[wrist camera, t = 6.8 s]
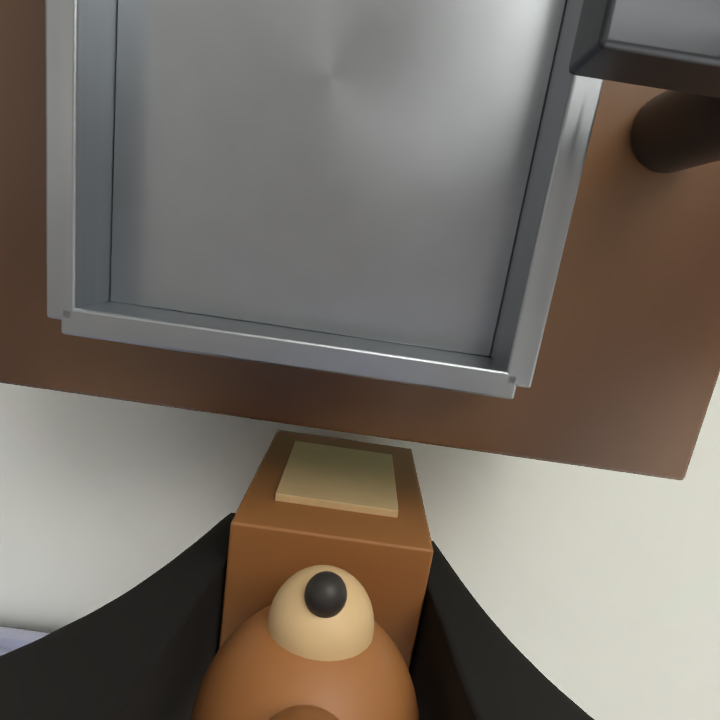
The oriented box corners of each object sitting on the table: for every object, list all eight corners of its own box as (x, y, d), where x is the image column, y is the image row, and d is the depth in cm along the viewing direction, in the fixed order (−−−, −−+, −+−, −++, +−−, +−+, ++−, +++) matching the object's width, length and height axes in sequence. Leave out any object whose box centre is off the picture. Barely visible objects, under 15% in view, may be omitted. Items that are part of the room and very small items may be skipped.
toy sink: (121, 323, 14) (-311, 452, 5) (136, -152, 11) (-714, -1632, 2) (554, 387, 14) (870, 617, 5) (667, -65, 11) (1676, -1125, 3)
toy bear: (260, 578, 14) (100, 1067, 5) (279, 413, 12) (112, 717, 4) (384, 595, 14) (409, 1103, 5) (414, 432, 12) (501, 769, 4)
